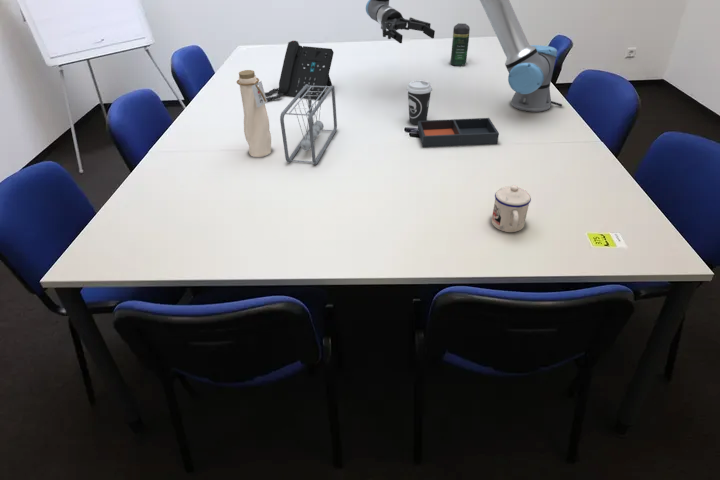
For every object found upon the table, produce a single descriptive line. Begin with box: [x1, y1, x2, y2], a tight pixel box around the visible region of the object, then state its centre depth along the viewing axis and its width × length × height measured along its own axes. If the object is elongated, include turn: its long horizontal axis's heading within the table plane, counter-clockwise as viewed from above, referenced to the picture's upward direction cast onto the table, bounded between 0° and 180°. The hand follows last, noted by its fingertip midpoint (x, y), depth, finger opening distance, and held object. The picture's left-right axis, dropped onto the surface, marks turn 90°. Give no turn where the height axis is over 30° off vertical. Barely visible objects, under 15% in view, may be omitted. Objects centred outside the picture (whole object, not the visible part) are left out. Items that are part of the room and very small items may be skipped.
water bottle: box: [236, 69, 272, 158], centre depth 159 cm, size 10×9×28 cm
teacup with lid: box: [491, 184, 532, 233], centre depth 124 cm, size 12×9×12 cm
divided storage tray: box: [417, 117, 500, 148], centre depth 171 cm, size 26×14×4 cm, turn 92°
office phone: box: [265, 40, 334, 102], centre depth 206 cm, size 29×28×20 cm
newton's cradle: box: [279, 84, 338, 166], centre depth 164 cm, size 30×10×18 cm, turn 168°
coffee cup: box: [406, 79, 433, 127], centre depth 179 cm, size 10×10×15 cm
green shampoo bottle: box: [450, 22, 471, 67], centre depth 234 cm, size 10×8×19 cm
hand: (417, 37), depth 172 cm, fingers open, 13 cm apart
